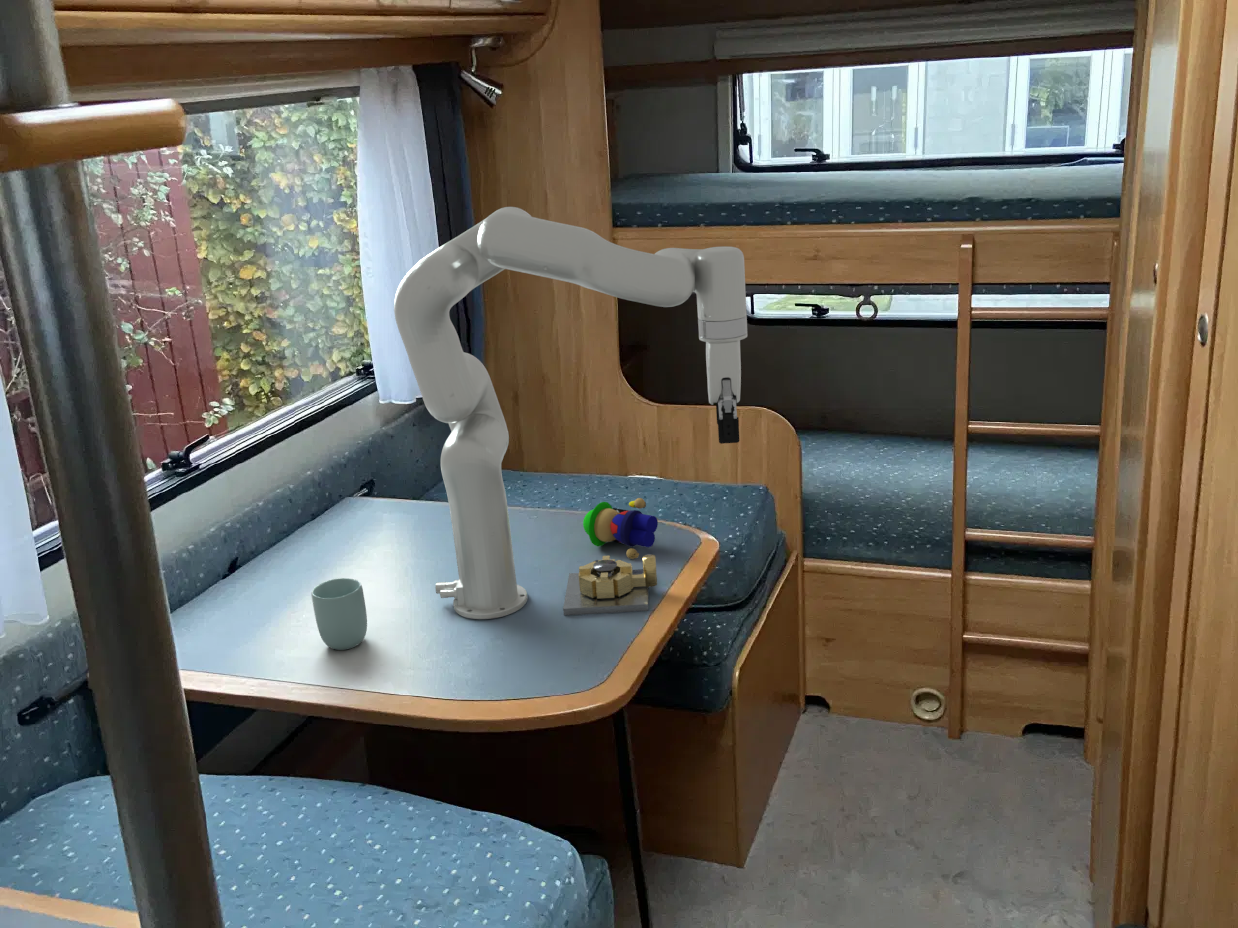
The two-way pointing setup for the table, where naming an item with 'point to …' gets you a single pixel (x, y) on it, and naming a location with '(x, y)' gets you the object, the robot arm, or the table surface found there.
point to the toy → (621, 526)
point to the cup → (340, 612)
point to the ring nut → (616, 578)
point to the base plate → (587, 605)
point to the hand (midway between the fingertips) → (728, 433)
